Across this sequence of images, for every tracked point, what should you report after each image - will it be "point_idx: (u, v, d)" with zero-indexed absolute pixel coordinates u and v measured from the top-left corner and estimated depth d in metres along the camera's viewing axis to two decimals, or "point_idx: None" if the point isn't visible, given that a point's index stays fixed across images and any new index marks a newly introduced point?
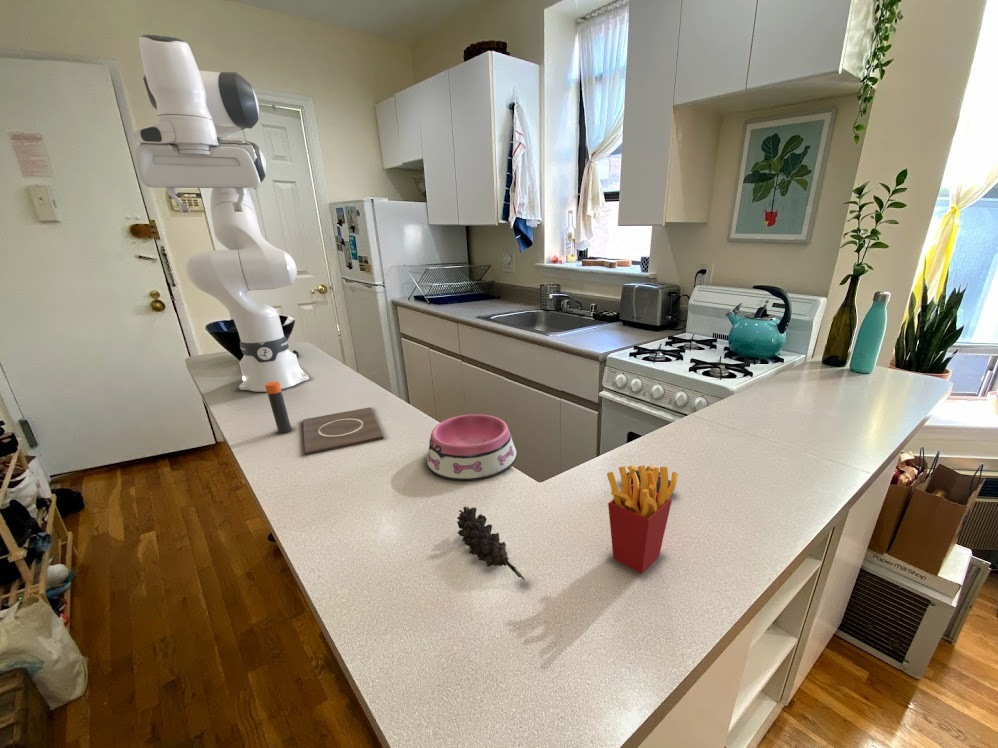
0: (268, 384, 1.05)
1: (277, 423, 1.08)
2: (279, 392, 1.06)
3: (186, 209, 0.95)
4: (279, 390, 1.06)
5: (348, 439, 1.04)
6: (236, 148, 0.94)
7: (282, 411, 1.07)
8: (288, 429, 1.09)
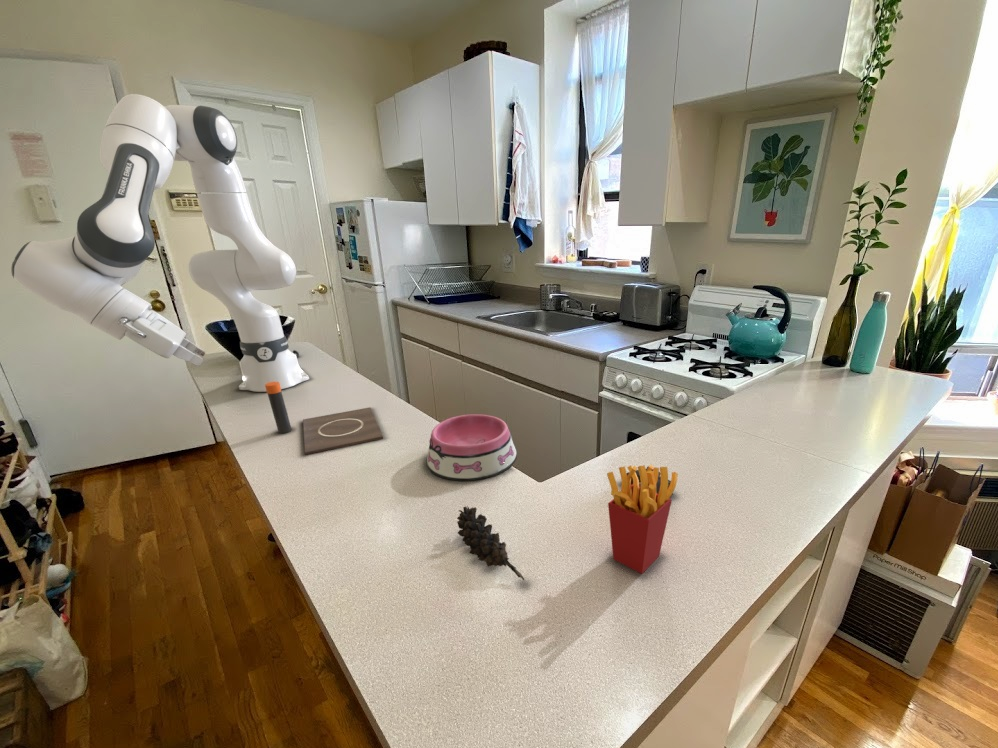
0: (268, 384, 1.05)
1: (277, 423, 1.08)
2: (279, 392, 1.06)
3: None
4: (279, 390, 1.06)
5: (348, 439, 1.04)
6: None
7: (282, 411, 1.07)
8: (288, 429, 1.09)
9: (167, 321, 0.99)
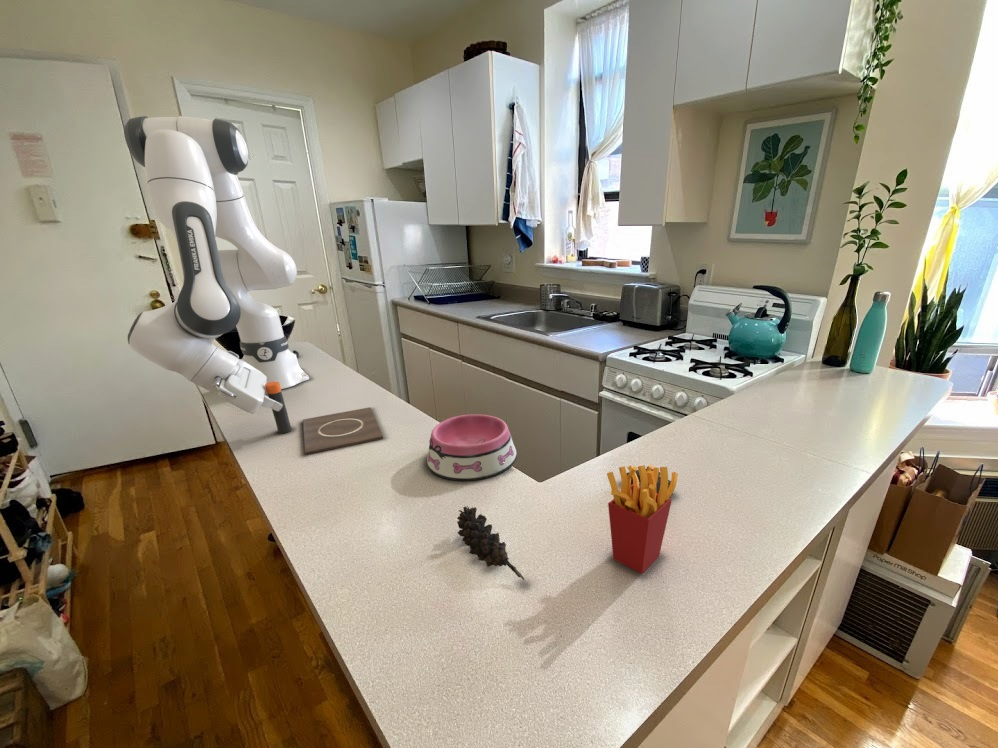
0: (268, 384, 1.05)
1: (277, 423, 1.08)
2: (279, 392, 1.06)
3: None
4: (279, 390, 1.06)
5: (348, 439, 1.04)
6: None
7: (282, 411, 1.07)
8: (288, 429, 1.09)
9: (251, 367, 1.10)
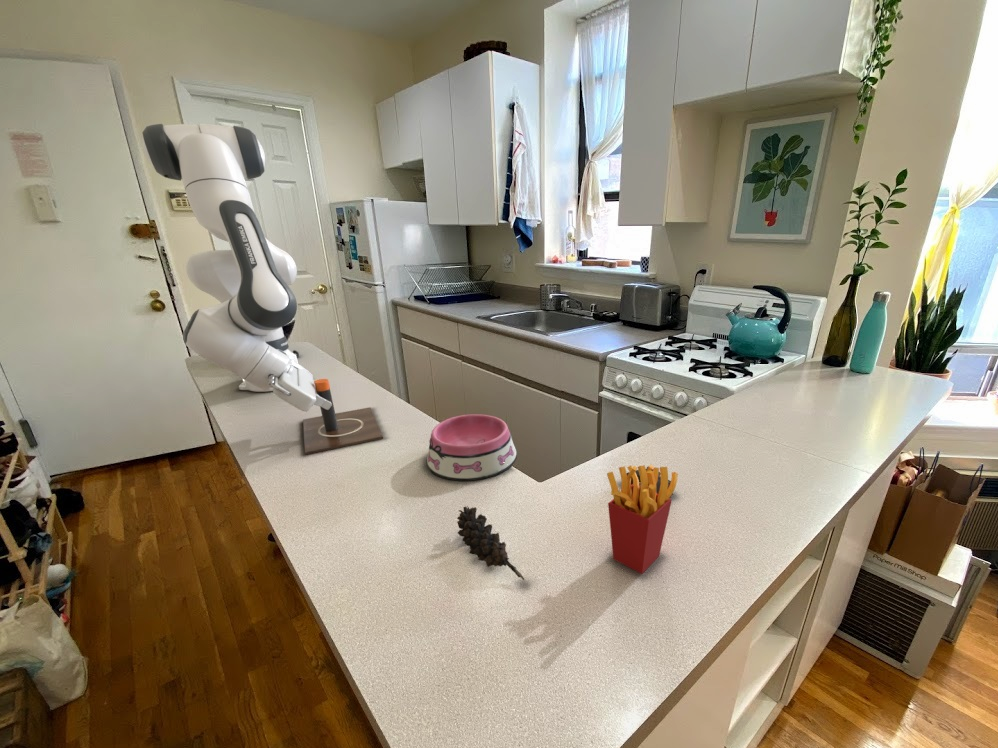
0: (317, 381, 1.04)
1: (325, 421, 1.07)
2: (328, 389, 1.05)
3: None
4: (328, 387, 1.05)
5: (348, 439, 1.04)
6: None
7: (330, 409, 1.06)
8: (335, 427, 1.08)
9: (298, 366, 1.09)
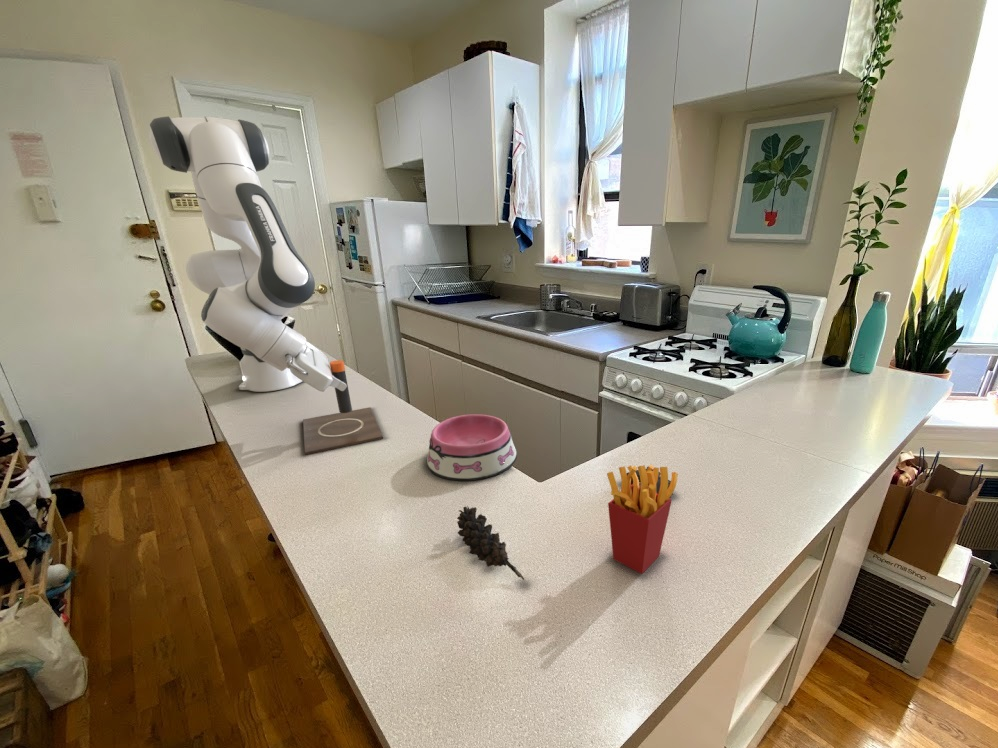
0: (333, 362, 1.04)
1: (339, 402, 1.07)
2: (343, 371, 1.05)
3: None
4: (343, 369, 1.05)
5: (348, 439, 1.04)
6: None
7: (345, 390, 1.07)
8: (349, 409, 1.09)
9: (313, 347, 1.09)
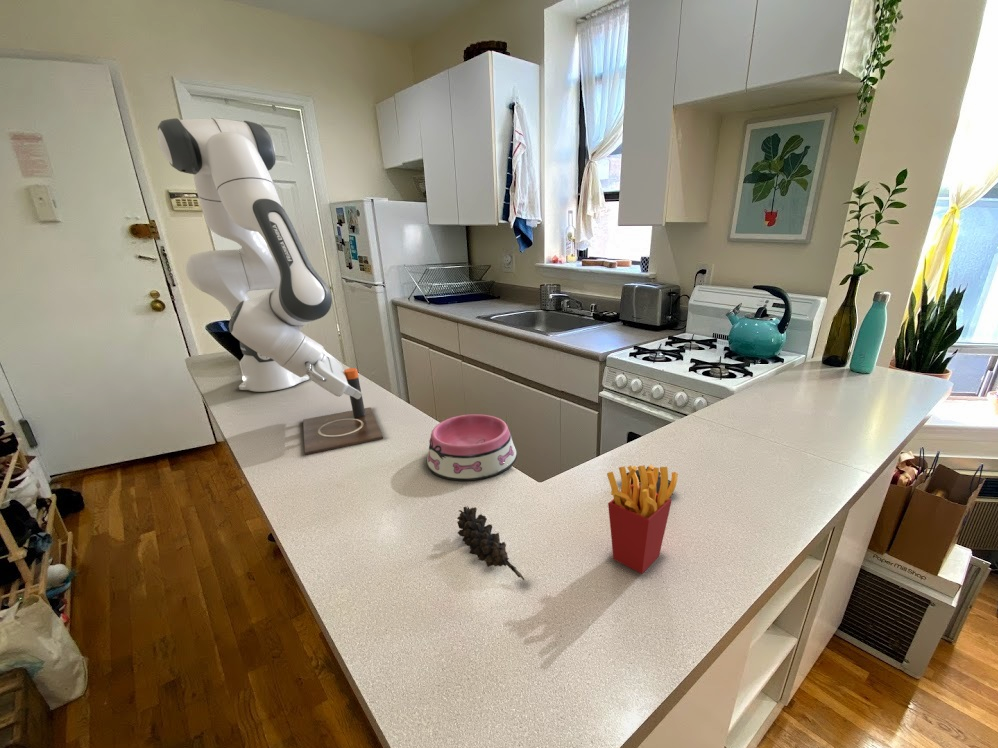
0: (347, 370, 1.12)
1: (353, 407, 1.15)
2: (357, 378, 1.13)
3: None
4: (357, 376, 1.13)
5: (348, 439, 1.04)
6: None
7: None
8: (363, 413, 1.16)
9: (328, 355, 1.17)
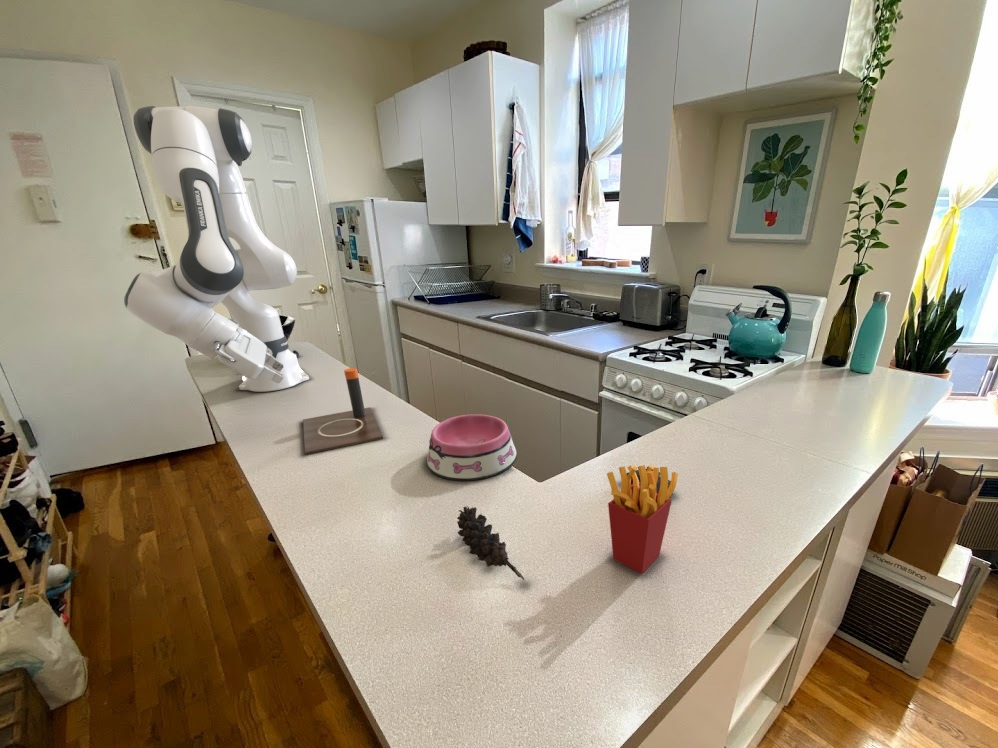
0: (347, 370, 1.12)
1: (353, 407, 1.15)
2: (357, 378, 1.13)
3: None
4: (357, 376, 1.13)
5: (348, 439, 1.04)
6: None
7: (359, 396, 1.14)
8: (363, 413, 1.16)
9: (251, 336, 1.08)
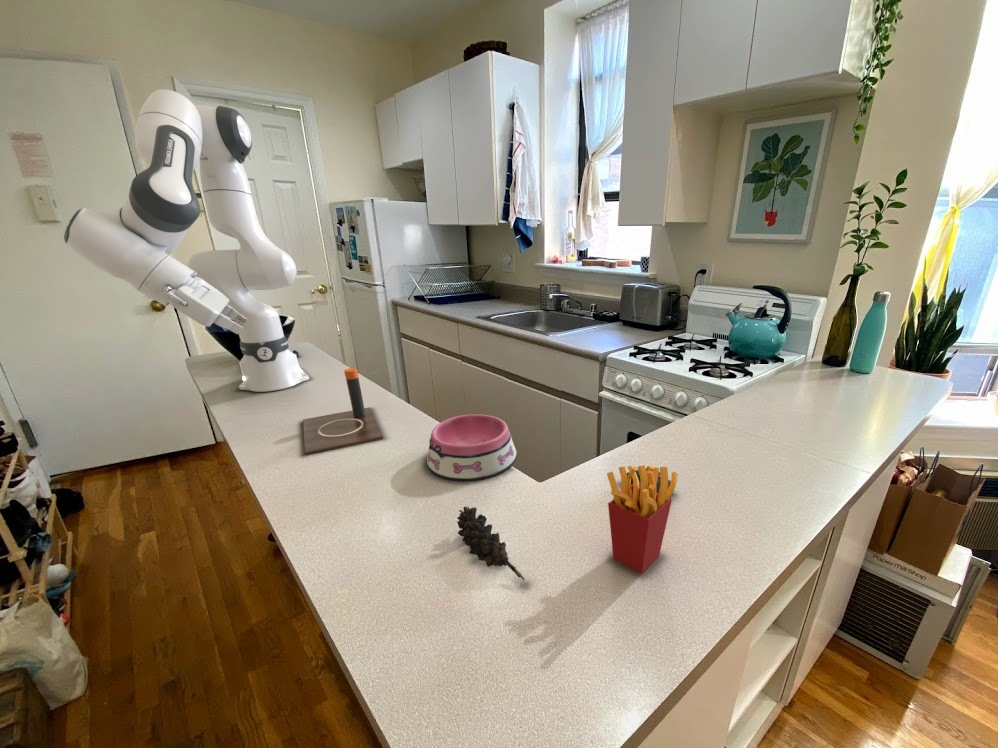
0: (347, 370, 1.12)
1: (353, 407, 1.15)
2: (357, 378, 1.13)
3: None
4: (357, 376, 1.13)
5: (348, 439, 1.04)
6: None
7: (359, 396, 1.14)
8: (363, 413, 1.16)
9: (211, 287, 1.01)
